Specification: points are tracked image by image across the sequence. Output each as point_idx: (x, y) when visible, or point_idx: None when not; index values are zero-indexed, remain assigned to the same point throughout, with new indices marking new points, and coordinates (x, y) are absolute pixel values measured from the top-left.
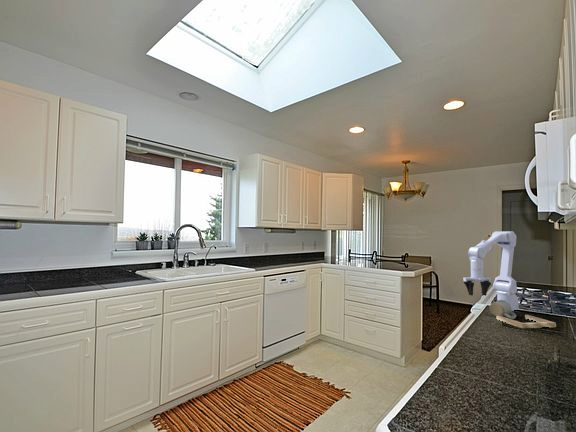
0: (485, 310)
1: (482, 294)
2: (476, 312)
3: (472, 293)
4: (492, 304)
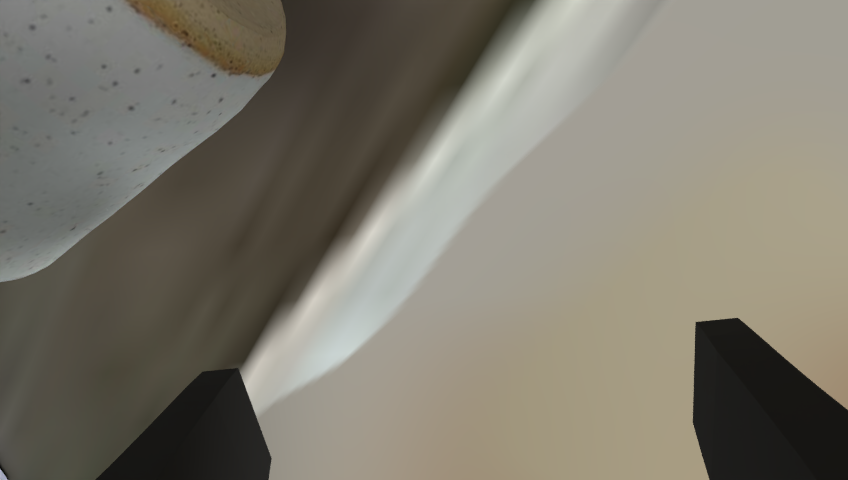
0: (210, 352)
1: (265, 455)
2: (453, 209)
3: (741, 353)
4: (203, 2)
